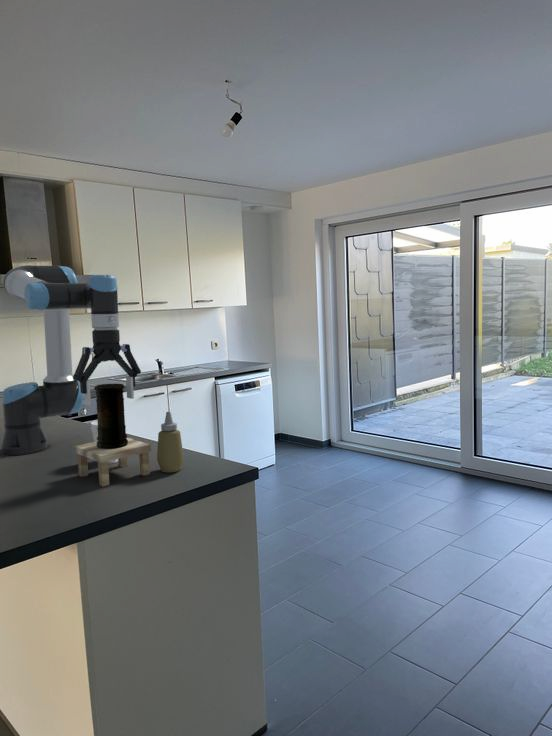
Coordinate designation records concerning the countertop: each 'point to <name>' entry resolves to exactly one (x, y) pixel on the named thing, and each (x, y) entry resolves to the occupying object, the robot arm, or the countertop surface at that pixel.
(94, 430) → the foam cup
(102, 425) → the container
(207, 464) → the countertop surface
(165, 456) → the squeeze bottle
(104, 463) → the beige flat-topped legged fixture
